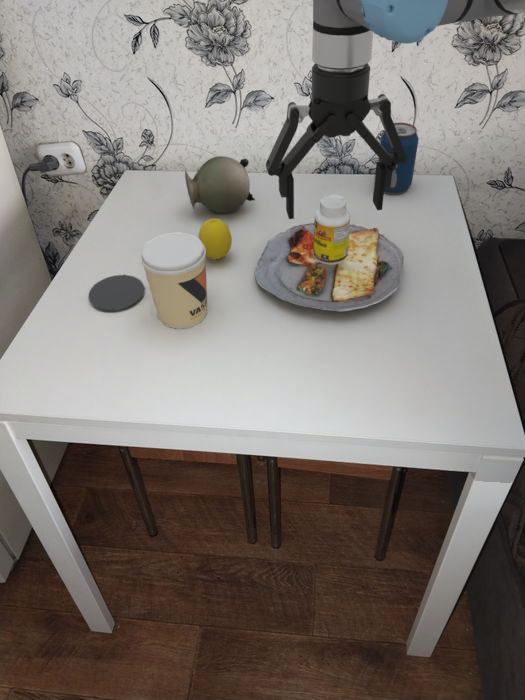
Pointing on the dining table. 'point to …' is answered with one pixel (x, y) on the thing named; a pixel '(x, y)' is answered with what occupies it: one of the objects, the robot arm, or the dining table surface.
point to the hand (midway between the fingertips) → (333, 210)
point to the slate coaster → (116, 293)
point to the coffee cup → (177, 278)
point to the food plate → (330, 270)
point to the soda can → (409, 142)
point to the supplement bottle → (331, 230)
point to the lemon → (215, 238)
